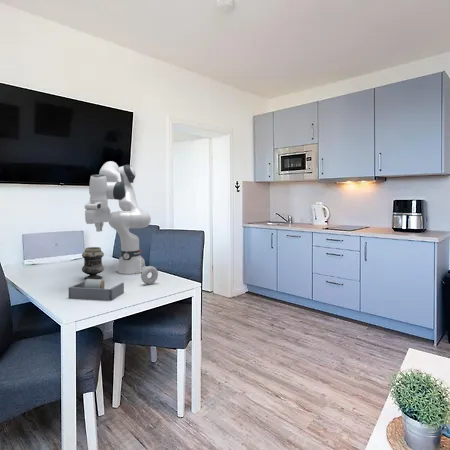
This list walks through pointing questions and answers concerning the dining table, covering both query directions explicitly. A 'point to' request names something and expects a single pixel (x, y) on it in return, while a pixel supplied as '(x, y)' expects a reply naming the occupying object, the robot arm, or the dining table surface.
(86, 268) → the apothecary jar
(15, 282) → the dining table surface
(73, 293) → the box
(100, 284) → the ceramic mug
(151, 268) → the donut
